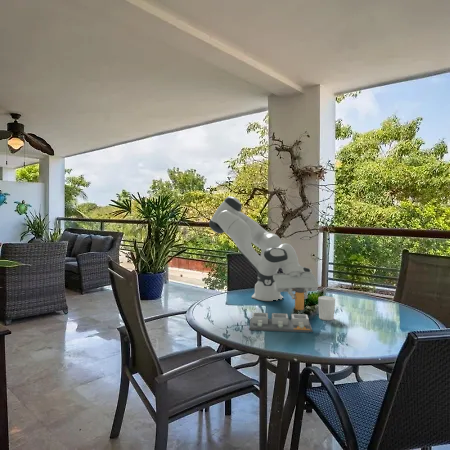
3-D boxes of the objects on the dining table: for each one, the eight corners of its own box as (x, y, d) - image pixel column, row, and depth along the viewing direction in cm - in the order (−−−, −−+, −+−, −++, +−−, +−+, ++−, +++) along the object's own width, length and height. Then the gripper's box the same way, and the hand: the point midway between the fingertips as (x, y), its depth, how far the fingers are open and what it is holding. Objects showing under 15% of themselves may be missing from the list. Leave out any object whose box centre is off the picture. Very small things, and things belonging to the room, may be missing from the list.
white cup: (334, 316, 177) (335, 296, 176) (335, 321, 169) (335, 300, 169) (318, 315, 179) (318, 295, 178) (317, 320, 171) (318, 299, 171)
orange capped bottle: (293, 308, 163) (293, 288, 163) (300, 307, 165) (300, 287, 165) (298, 310, 160) (299, 290, 159) (305, 309, 162) (306, 289, 161)
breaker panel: (250, 320, 170) (250, 311, 170) (308, 322, 167) (308, 314, 167) (249, 329, 156) (249, 320, 156) (312, 332, 153) (312, 323, 153)
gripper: (273, 269, 167) (279, 295, 158) (314, 269, 170) (323, 294, 161) (270, 277, 171) (276, 302, 162) (310, 276, 175) (318, 301, 166)
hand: (300, 298), depth 162 cm, fingers closed on orange capped bottle, 4 cm apart
